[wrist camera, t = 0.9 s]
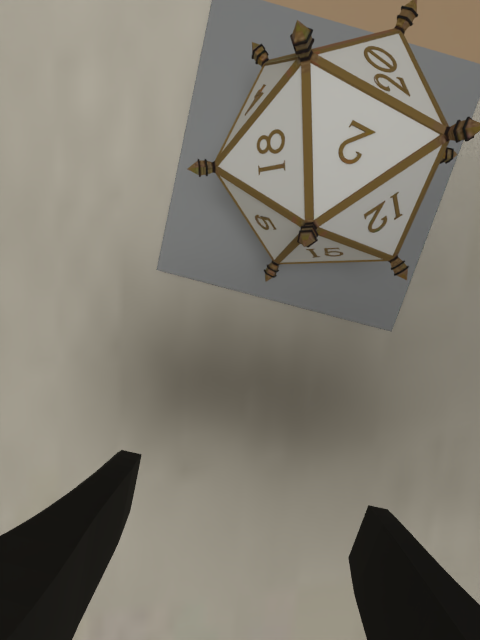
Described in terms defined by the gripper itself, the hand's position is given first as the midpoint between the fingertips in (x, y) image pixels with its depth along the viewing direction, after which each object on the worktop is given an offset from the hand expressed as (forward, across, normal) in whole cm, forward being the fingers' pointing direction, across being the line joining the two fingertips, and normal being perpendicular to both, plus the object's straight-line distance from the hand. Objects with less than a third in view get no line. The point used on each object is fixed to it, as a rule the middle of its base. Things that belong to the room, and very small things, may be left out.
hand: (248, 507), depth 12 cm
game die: (+9, 0, -11) cm, 14 cm away
